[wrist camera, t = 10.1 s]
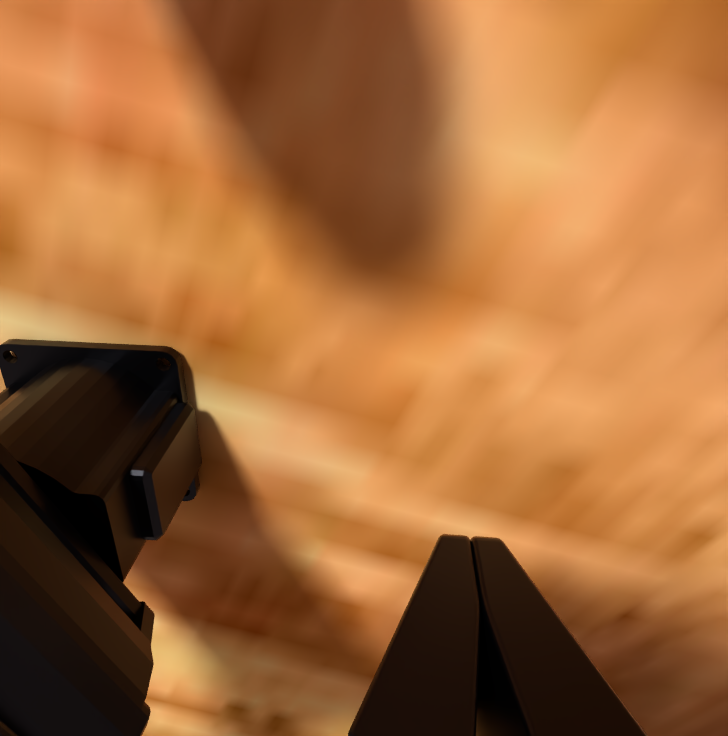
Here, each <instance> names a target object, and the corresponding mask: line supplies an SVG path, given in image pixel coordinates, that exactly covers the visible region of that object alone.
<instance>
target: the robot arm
mask: <svg viewBox="0 0 728 736" xmlns="http://www.w3.org/2000/svg"><path fill="white" fill-rule="evenodd" d="M10 351H12V352H14V353H15V354H16V356H17V358H16V357H14V356H13V355H12V354H11V352H10ZM160 358H165V359H167V360H168V361H169V362H170V364H171V365H170V366H168V365H165V364H163V363H162V361H161V359H160ZM0 369H1V373H2V376H3V379H4V383H5V386H6V389H5V390H4V391H3V392H1V393H0V736H142V734H143V732H144V730H145V728H146V726H147V723H148V720H149V716H150V712H151V711H150V707H149V706H148V705H147V704H146V703H145V702H144V701H145V699H146V696H147V691H148V687H149V682H150V678H151V673H152V669H153V658H152V651H151V639H152V631H153V623H154V613H153V611H152V610H151V609H150V608H149V607H148V606H147V605H146V603H145V602H143V601H142V602H139V601H138V600H137V599H136V597H135V596H134V595H133V594H132V593H131V592H130V591H129V589H128V588H127V587H126V586H125V585H124V584H123V581H124V579H125V578H126V576H127V574H128V572H129V571H130V569H131V567H132V565H133V563H134V562H135V560H136V558H137V556H138V555H139V553H140V551H141V549H142V547H143V546H144V544H145V542H146V540H158V539H159V538H160V537H161V536H162V535H164V533H165V531H166V530H167V528H168V526H169V524H170V522H171V520H172V518H173V516H174V515H175V513H176V511H177V509H178V507H179V505H180V503H181V501H190V500H192V499H194V497H195V496H196V494H197V492H198V490H199V486H200V485H199V478H198V470H199V468H200V466H201V464H202V459H201V452H200V445H199V438H198V430H197V423H196V416H195V409H194V408H193V407H192V405H191V404H190V403H188V401H187V394H186V387H185V380H184V373H183V366H182V360H181V357H180V355H179V353H178V352H177V351H176V350H174V349H173V348H171V347H167V346H149V345H128V344H107V343H86V342H65V341H44V340H23V339H10V340H7V341H6V342H4V343H3V344H2V345H0ZM188 488H189V490H188ZM348 736H647V734H646V733H645V732H644V730H643V729H642V728H641V726H640V725H639V724H638V722H637V721H636V720H635V718H634V717H633V716H632V714H631V713H630V712H629V710H628V709H627V708H626V706H625V705H624V704H623V702H622V701H621V700H620V698H619V697H618V695H617V694H616V693H615V691H614V690H613V689H612V687H611V686H610V685H609V683H608V682H607V681H606V679H605V678H604V677H603V675H602V674H601V673H600V671H599V670H598V669H597V667H596V666H595V665H594V663H593V662H592V661H591V659H590V658H589V657H588V655H587V654H586V652H585V651H584V650H583V648H582V647H581V646H580V644H579V643H578V642H577V640H576V639H575V638H574V636H573V635H572V634H571V632H570V631H569V630H568V628H567V627H566V626H565V624H564V623H563V622H562V620H561V619H560V618H559V616H558V615H557V613H556V612H555V611H554V609H553V608H552V607H551V605H550V604H549V603H548V601H547V600H546V599H545V597H544V596H543V595H542V593H541V592H540V591H539V589H538V588H537V587H536V585H535V584H534V583H533V581H532V580H531V579H530V577H529V576H528V575H527V573H526V572H525V570H524V569H523V568H522V566H521V565H520V564H519V562H518V561H517V560H516V558H515V557H514V556H513V554H512V553H511V552H510V550H509V549H508V548H507V546H506V545H505V544H504V542H503V541H502V540H500V539H499V538H492V537H477V536H475V537H473V538H471V540H470V539H469V538H468V537H467V536H462V535H448V534H443V535H441V536H440V537H439V538H438V540H437V542H436V545H435V547H434V549H433V551H432V553H431V555H430V558H429V560H428V562H427V564H426V566H425V568H424V570H423V573H422V575H421V577H420V579H419V581H418V583H417V586H416V588H415V590H414V592H413V594H412V596H411V598H410V601H409V603H408V605H407V607H406V609H405V611H404V614H403V616H402V618H401V620H400V622H399V624H398V627H397V629H396V631H395V633H394V635H393V637H392V639H391V642H390V644H389V646H388V648H387V650H386V652H385V655H384V657H383V659H382V661H381V663H380V665H379V668H378V670H377V672H376V674H375V676H374V678H373V680H372V683H371V685H370V687H369V689H368V691H367V693H366V696H365V698H364V700H363V702H362V704H361V706H360V709H359V711H358V713H357V715H356V717H355V719H354V721H353V724H352V726H351V728H350V730H349V733H348Z"/></svg>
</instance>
